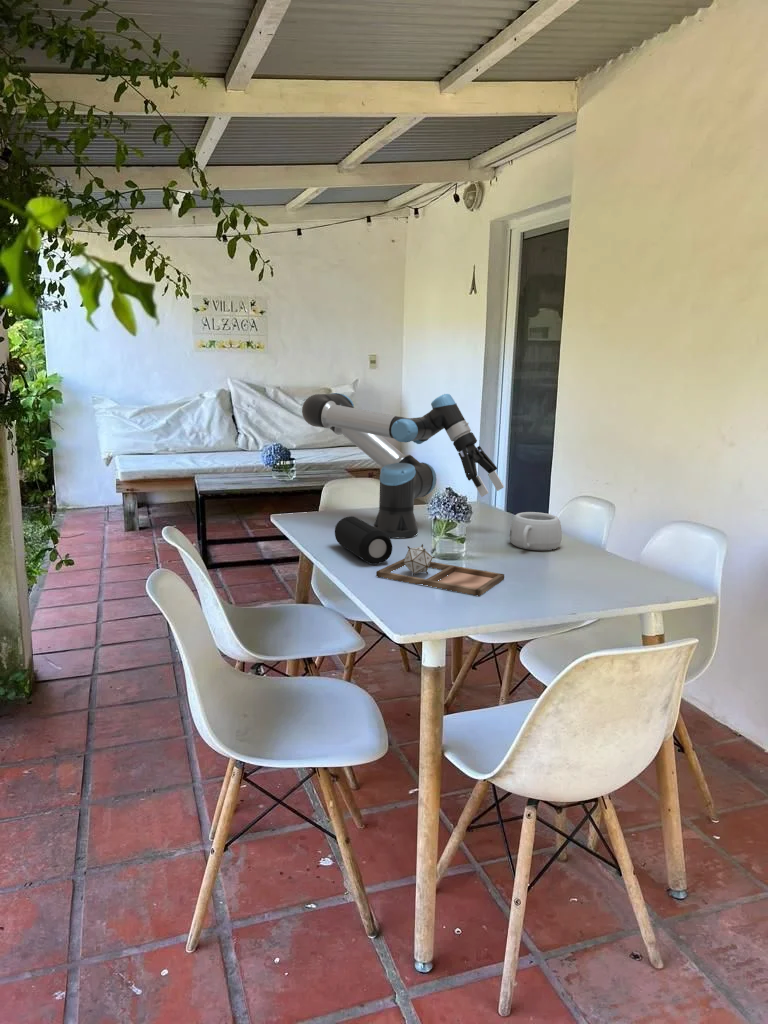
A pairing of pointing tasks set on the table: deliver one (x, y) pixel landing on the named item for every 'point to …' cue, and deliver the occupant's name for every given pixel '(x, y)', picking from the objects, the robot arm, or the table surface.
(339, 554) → the table surface
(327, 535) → the table surface
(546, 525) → the mug
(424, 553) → the game die
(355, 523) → the portable speaker
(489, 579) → the dice tray
